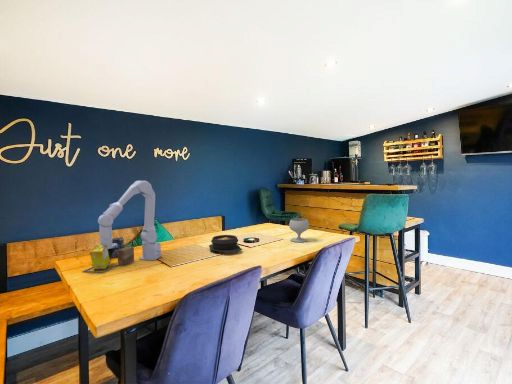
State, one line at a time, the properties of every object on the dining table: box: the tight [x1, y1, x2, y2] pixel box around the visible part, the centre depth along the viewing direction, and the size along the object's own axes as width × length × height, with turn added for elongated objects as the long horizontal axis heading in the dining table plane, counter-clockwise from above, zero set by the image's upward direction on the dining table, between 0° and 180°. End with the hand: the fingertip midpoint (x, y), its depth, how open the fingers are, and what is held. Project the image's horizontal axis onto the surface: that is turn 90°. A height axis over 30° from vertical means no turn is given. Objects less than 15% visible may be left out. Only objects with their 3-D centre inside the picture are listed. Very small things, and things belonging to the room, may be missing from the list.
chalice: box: [288, 218, 310, 243], centre depth 201 cm, size 14×14×15 cm
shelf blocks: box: [110, 246, 135, 267], centre depth 152 cm, size 18×8×8 cm, turn 80°
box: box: [111, 236, 125, 259], centre depth 164 cm, size 8×6×11 cm
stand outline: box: [81, 264, 119, 274], centre depth 142 cm, size 11×11×1 cm
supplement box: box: [89, 244, 111, 271], centre depth 141 cm, size 6×6×11 cm
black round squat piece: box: [208, 234, 242, 254], centre depth 176 cm, size 25×19×8 cm
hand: (107, 264), depth 147 cm, fingers closed, pressing on supplement box
